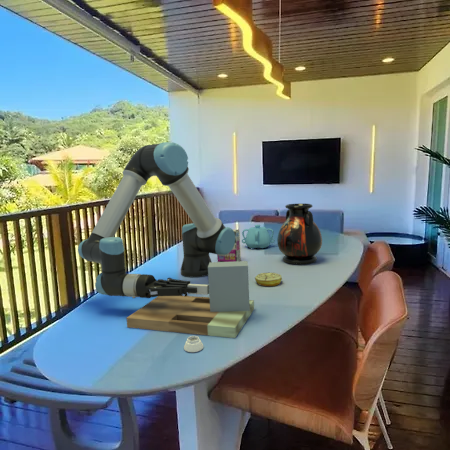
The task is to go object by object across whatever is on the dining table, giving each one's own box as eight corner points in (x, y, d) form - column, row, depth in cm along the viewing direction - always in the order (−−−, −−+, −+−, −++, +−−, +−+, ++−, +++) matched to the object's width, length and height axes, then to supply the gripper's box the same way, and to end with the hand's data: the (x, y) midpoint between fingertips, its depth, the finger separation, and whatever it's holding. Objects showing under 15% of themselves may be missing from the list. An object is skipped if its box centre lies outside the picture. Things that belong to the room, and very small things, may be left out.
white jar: (180, 348, 97) (190, 355, 93) (179, 338, 96) (189, 344, 92) (196, 342, 100) (207, 349, 96) (196, 332, 99) (206, 338, 95)
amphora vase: (269, 260, 187) (267, 205, 183) (303, 254, 197) (302, 201, 193) (295, 269, 168) (294, 207, 164) (331, 262, 178) (331, 204, 174)
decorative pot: (277, 247, 217) (277, 224, 215) (254, 251, 209) (253, 227, 207) (261, 243, 231) (261, 222, 229) (239, 247, 224) (238, 224, 222)
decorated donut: (272, 278, 156) (271, 269, 156) (287, 284, 147) (286, 275, 146) (250, 282, 152) (250, 273, 151) (264, 289, 142) (264, 279, 142)
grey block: (211, 304, 119) (209, 262, 117) (249, 303, 118) (247, 261, 116) (210, 311, 113) (207, 267, 111) (249, 310, 112) (247, 265, 110)
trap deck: (161, 302, 132) (160, 294, 132) (254, 309, 122) (253, 300, 121) (127, 327, 112) (126, 317, 111) (235, 338, 101) (234, 327, 101)
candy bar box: (241, 261, 188) (239, 229, 186) (236, 263, 184) (235, 230, 182) (221, 259, 193) (220, 228, 191) (217, 261, 189) (215, 230, 187)
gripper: (151, 290, 127) (215, 294, 120) (130, 303, 115) (200, 309, 108) (149, 269, 126) (214, 272, 119) (128, 280, 114) (199, 284, 107)
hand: (208, 289), depth 113 cm, fingers closed
